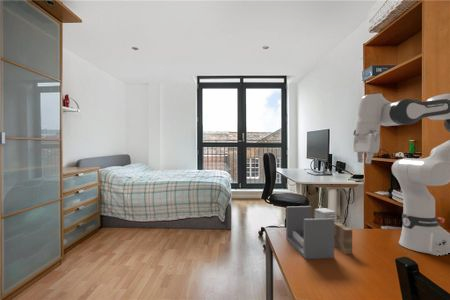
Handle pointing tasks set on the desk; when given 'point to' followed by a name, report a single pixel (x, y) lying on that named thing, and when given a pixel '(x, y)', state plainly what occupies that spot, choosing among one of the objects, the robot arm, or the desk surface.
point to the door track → (309, 233)
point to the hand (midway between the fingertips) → (363, 163)
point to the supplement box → (325, 213)
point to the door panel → (342, 238)
